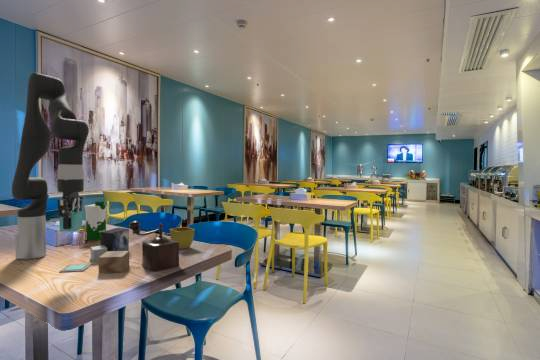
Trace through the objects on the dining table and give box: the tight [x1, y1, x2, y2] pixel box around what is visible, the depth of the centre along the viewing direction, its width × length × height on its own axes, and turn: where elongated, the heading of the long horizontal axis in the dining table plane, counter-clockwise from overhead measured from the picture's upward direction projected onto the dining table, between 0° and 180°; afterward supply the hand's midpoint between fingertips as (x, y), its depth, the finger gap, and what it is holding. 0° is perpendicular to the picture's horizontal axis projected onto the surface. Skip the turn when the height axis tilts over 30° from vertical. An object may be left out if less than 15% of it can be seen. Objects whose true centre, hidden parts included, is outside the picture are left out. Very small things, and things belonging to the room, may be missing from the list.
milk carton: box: [83, 200, 108, 241], centre depth 160 cm, size 9×9×20 cm
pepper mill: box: [128, 220, 180, 273], centre depth 115 cm, size 16×11×18 cm
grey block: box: [90, 245, 107, 263], centre depth 124 cm, size 5×5×6 cm
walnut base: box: [98, 250, 130, 275], centre depth 112 cm, size 8×8×6 cm
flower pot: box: [169, 226, 196, 250], centre depth 144 cm, size 9×9×9 cm
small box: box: [100, 227, 130, 252], centre depth 133 cm, size 11×6×10 cm, turn 168°
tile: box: [58, 263, 93, 273], centre depth 113 cm, size 8×8×1 cm
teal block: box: [58, 210, 83, 233], centre depth 104 cm, size 5×5×6 cm
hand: (71, 227), depth 104 cm, fingers closed on teal block, 5 cm apart
